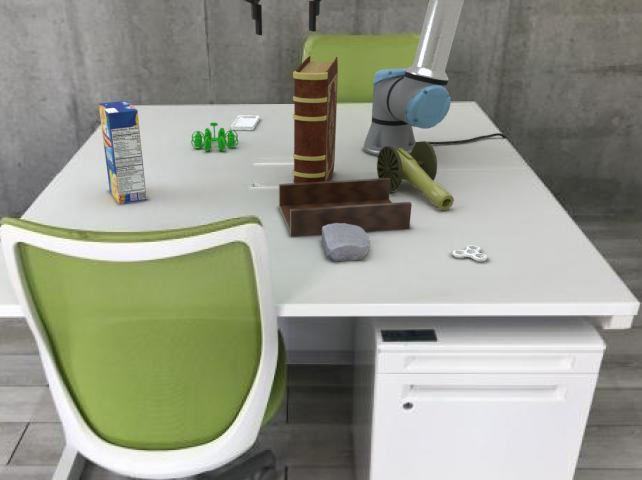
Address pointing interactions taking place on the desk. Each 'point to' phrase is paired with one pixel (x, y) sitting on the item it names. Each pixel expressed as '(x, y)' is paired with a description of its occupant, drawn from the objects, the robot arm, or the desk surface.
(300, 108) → the decorative book
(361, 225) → the book rack
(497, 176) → the desk surface
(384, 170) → the cannon
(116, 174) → the beverage box
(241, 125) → the phone case
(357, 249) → the stone block
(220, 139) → the chandelier
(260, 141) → the desk surface
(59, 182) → the desk surface
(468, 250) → the fidget spinner
